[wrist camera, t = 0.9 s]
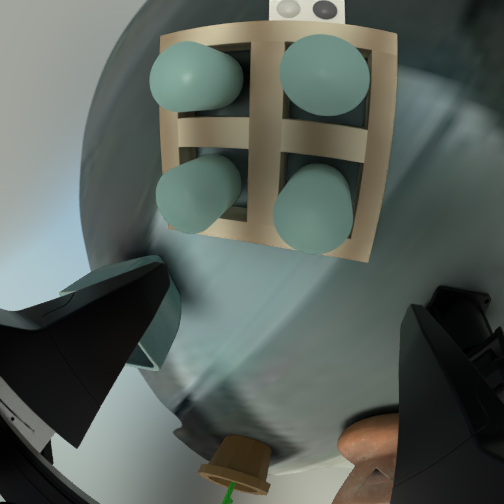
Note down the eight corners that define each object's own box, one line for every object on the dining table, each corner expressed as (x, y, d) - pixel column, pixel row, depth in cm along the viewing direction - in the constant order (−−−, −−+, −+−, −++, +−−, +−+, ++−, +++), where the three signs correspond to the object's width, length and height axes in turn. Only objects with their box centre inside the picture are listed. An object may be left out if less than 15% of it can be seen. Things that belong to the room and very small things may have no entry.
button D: (244, 50, 13) (217, 36, 10) (243, 109, 15) (216, 110, 12) (186, 56, 14) (150, 48, 11) (186, 111, 16) (150, 114, 13)
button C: (242, 155, 17) (216, 168, 13) (241, 212, 19) (218, 238, 15) (187, 153, 18) (152, 166, 14) (190, 206, 20) (159, 229, 16)
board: (389, 43, 12) (396, 33, 10) (365, 245, 19) (367, 262, 17) (179, 40, 15) (160, 35, 13) (183, 216, 23) (168, 229, 21)
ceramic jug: (370, 391, 27) (355, 501, 16) (456, 402, 24) (458, 494, 13) (322, 438, 37) (302, 510, 26) (393, 447, 34) (384, 515, 23)
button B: (362, 57, 11) (370, 40, 8) (359, 120, 13) (367, 122, 10) (294, 50, 12) (280, 32, 9) (291, 111, 14) (277, 111, 11)
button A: (354, 168, 15) (359, 186, 12) (345, 228, 17) (345, 260, 14) (289, 159, 16) (275, 173, 13) (284, 219, 18) (270, 247, 15)
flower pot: (167, 232, 24) (102, 288, 17) (204, 308, 28) (161, 373, 20) (112, 247, 28) (56, 293, 21) (147, 310, 31) (104, 361, 24)
